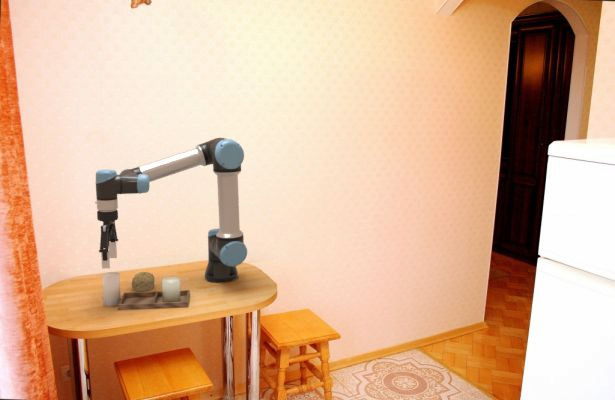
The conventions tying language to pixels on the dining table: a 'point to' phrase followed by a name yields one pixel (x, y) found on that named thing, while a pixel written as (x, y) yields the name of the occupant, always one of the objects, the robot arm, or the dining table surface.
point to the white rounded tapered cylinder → (111, 289)
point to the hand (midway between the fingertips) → (109, 262)
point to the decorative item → (143, 282)
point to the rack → (151, 300)
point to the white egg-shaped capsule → (171, 289)
